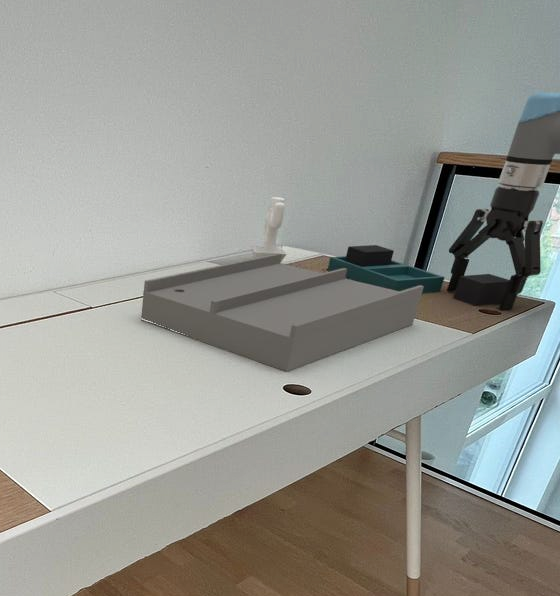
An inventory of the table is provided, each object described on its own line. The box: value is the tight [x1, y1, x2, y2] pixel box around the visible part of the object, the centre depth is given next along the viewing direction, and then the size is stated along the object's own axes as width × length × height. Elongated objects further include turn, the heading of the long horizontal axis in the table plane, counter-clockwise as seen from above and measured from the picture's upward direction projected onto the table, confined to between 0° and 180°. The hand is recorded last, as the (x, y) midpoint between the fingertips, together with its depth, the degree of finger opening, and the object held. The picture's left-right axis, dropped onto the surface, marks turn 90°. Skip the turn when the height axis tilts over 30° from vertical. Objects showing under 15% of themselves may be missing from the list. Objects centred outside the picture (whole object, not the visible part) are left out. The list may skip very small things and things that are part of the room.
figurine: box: [250, 196, 287, 264], centre depth 157 cm, size 7×9×15 cm
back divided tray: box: [327, 255, 445, 294], centre depth 152 cm, size 22×13×3 cm, turn 20°
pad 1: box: [345, 244, 395, 267], centre depth 155 cm, size 6×8×4 cm
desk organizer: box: [140, 253, 424, 373], centre depth 122 cm, size 32×40×7 cm
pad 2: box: [452, 273, 510, 307], centre depth 139 cm, size 6×8×4 cm
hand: (477, 299), depth 141 cm, fingers open, 13 cm apart
